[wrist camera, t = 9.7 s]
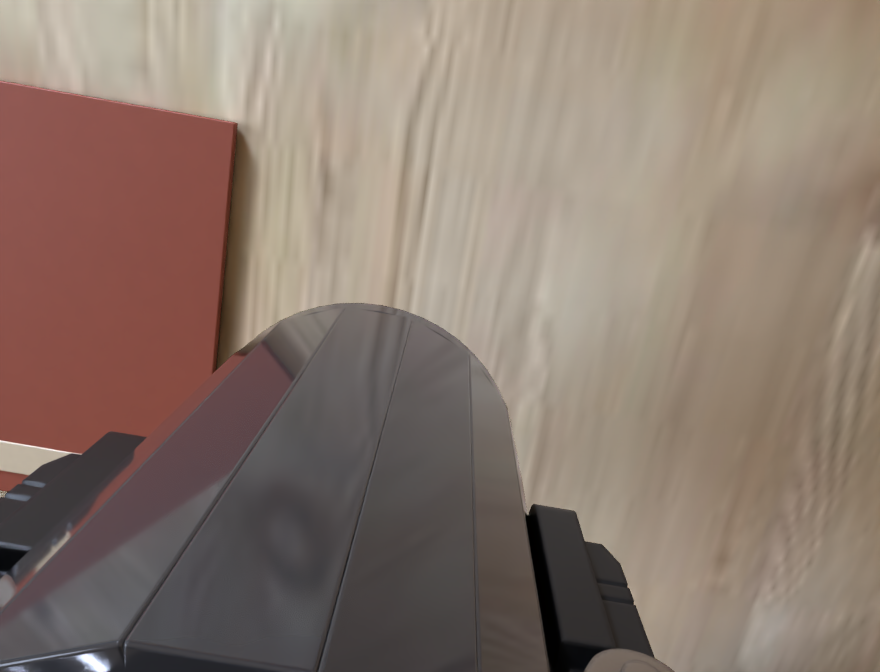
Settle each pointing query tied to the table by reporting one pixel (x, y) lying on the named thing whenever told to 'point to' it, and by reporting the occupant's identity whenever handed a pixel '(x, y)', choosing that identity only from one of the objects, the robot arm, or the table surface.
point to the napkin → (104, 268)
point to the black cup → (300, 521)
